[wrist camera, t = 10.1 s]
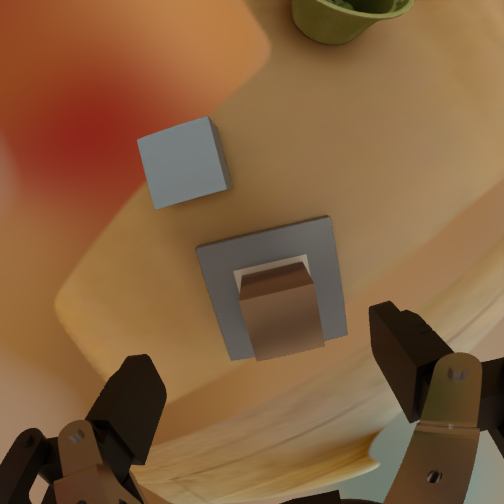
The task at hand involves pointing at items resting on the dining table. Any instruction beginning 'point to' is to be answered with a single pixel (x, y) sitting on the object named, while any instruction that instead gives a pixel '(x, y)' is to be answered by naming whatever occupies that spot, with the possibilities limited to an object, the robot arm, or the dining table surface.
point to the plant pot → (343, 17)
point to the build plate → (267, 257)
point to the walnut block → (281, 311)
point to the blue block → (184, 162)
